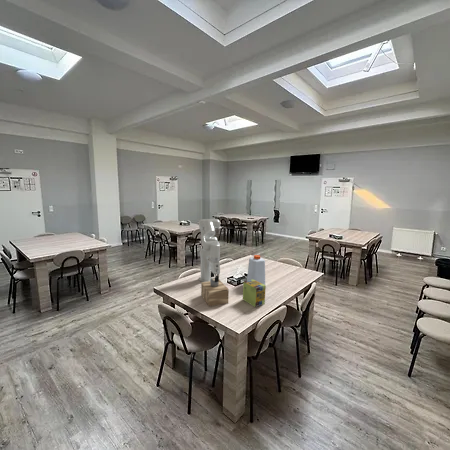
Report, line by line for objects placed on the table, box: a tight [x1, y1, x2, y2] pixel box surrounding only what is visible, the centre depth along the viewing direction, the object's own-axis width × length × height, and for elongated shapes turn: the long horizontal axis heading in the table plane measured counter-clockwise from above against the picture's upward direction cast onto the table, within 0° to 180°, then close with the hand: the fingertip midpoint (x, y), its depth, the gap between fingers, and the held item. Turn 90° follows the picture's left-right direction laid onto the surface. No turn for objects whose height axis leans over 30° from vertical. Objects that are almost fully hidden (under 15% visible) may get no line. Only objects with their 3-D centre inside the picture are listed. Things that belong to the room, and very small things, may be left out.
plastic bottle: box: [246, 254, 266, 285], centre depth 223 cm, size 15×15×28 cm
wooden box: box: [200, 284, 229, 307], centre depth 194 cm, size 20×16×11 cm
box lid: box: [200, 279, 229, 293], centre depth 193 cm, size 20×16×1 cm
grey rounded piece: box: [210, 277, 219, 287], centre depth 192 cm, size 6×6×5 cm
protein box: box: [242, 279, 266, 308], centre depth 191 cm, size 10×15×16 cm
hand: (214, 279), depth 192 cm, fingers open, 9 cm apart
